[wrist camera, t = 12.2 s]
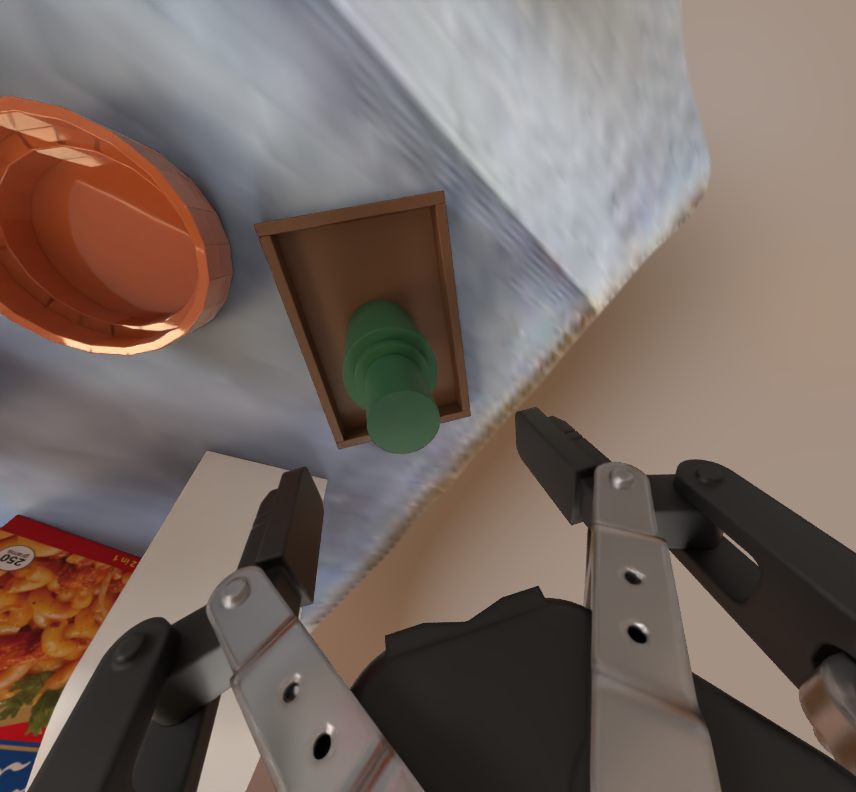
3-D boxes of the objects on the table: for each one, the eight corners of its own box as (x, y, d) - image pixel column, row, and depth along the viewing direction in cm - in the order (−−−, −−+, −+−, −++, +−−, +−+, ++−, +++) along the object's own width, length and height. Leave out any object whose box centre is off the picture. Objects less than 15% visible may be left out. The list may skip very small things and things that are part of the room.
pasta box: (275, 605, 42) (159, 1111, 18) (237, 637, 44) (82, 1149, 19) (17, 514, 30) (-1626, 1832, 5) (-24, 563, 31) (-1486, 1794, 6)
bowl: (-49, 147, 19) (-173, 118, 14) (179, 115, 20) (129, 80, 16) (95, 351, 25) (39, 374, 21) (263, 316, 26) (244, 331, 22)
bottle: (338, 307, 27) (317, 380, 13) (407, 293, 27) (459, 347, 13) (357, 370, 29) (357, 488, 15) (419, 356, 30) (472, 457, 16)
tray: (263, 225, 24) (253, 224, 21) (436, 195, 25) (444, 190, 23) (339, 435, 33) (338, 449, 30) (463, 404, 34) (470, 415, 32)
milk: (327, 479, 35) (271, 928, 12) (294, 549, 39) (203, 997, 16) (206, 450, 31) (-237, 1066, 8) (182, 532, 34) (-170, 1118, 11)
